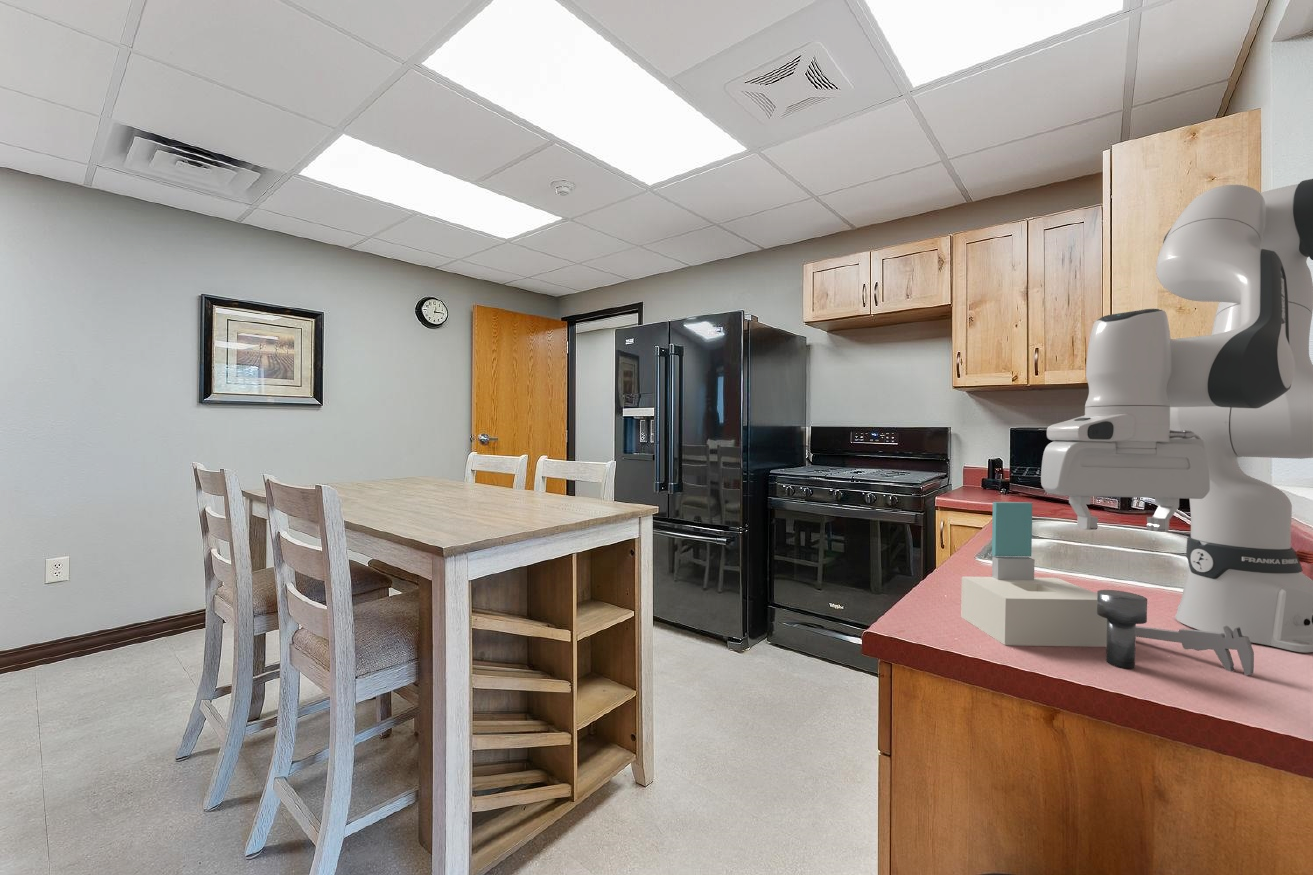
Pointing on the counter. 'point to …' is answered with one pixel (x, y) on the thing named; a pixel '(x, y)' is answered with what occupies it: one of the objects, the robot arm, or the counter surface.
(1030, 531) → the block
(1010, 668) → the counter surface
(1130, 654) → the pin
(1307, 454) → the robot arm
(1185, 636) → the caliper
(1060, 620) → the block
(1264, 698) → the counter surface
